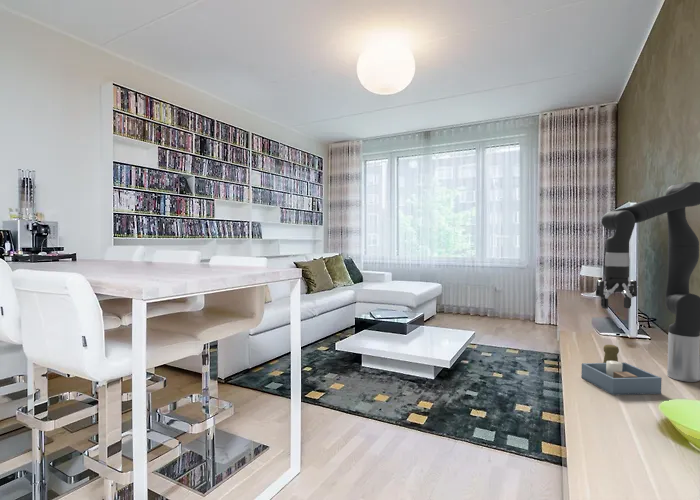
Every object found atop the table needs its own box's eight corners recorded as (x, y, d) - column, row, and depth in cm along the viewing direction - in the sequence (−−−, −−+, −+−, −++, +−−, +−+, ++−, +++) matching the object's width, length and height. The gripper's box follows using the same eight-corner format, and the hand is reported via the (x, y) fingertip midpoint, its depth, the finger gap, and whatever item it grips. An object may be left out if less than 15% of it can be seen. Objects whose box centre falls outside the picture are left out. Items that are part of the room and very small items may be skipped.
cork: (611, 375, 154) (612, 347, 153) (598, 370, 159) (598, 343, 159) (623, 374, 155) (624, 346, 155) (609, 369, 161) (610, 342, 161)
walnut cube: (626, 385, 142) (626, 371, 142) (637, 390, 137) (637, 376, 137) (613, 385, 142) (613, 371, 141) (623, 390, 137) (623, 376, 136)
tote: (624, 376, 152) (625, 362, 152) (661, 393, 136) (661, 377, 135) (581, 377, 151) (581, 363, 151) (612, 394, 135) (613, 379, 134)
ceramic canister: (615, 378, 148) (615, 360, 148) (625, 383, 144) (625, 364, 143) (602, 378, 148) (603, 360, 148) (612, 383, 143) (612, 365, 143)
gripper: (627, 264, 148) (626, 306, 149) (591, 264, 148) (590, 306, 148) (643, 265, 141) (642, 309, 142) (605, 265, 140) (604, 310, 141)
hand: (615, 308), depth 145 cm, fingers open, 8 cm apart
